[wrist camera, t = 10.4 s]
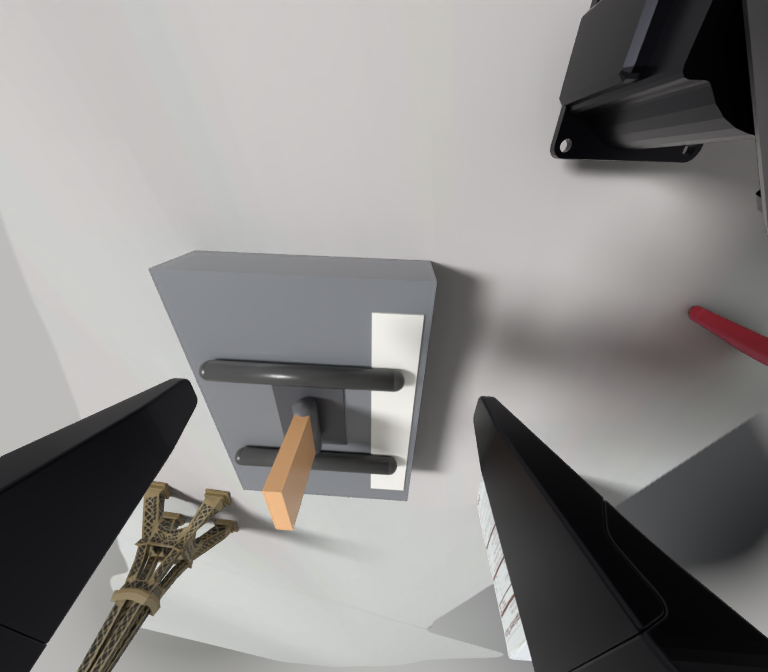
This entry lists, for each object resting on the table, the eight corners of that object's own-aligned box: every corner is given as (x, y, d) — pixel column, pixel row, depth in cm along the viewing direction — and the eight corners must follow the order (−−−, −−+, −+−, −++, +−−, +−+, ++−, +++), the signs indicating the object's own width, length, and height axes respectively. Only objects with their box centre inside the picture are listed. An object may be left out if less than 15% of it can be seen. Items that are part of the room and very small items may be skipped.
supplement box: (554, 466, 29) (647, 645, 18) (536, 504, 32) (604, 670, 22) (482, 464, 29) (531, 638, 18) (473, 501, 33) (509, 663, 22)
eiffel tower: (144, 479, 34) (-280, 989, 13) (228, 491, 35) (-47, 1003, 13) (165, 519, 40) (-106, 924, 18) (238, 529, 40) (55, 936, 19)
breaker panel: (430, 260, 18) (440, 291, 13) (406, 462, 29) (407, 516, 25) (194, 250, 18) (126, 277, 14) (261, 453, 30) (236, 504, 25)
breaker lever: (318, 397, 19) (286, 490, 14) (324, 438, 21) (298, 532, 16) (296, 396, 19) (255, 488, 14) (304, 437, 21) (271, 530, 16)
